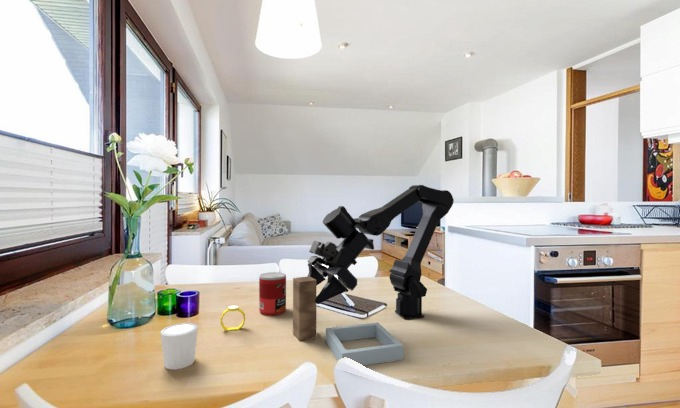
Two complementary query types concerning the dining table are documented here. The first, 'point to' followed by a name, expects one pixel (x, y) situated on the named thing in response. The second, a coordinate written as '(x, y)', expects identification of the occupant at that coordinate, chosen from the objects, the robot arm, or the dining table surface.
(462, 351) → the dining table surface
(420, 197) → the robot arm
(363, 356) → the frame
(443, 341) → the dining table surface
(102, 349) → the dining table surface
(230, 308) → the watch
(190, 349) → the white cup
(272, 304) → the canned food
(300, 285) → the tall wooden post
